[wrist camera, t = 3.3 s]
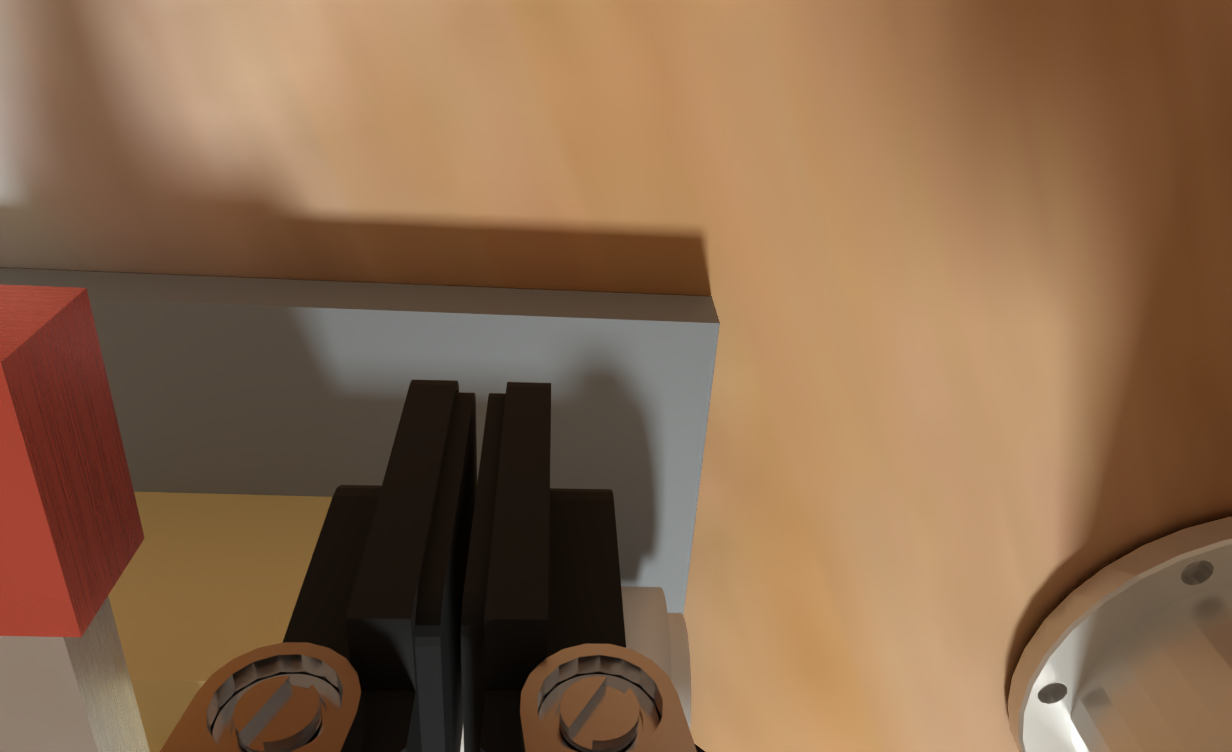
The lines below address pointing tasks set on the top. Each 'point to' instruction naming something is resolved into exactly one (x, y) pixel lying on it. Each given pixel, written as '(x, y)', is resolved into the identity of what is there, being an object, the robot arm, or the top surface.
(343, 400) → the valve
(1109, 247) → the top surface
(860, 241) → the top surface
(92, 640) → the lever
